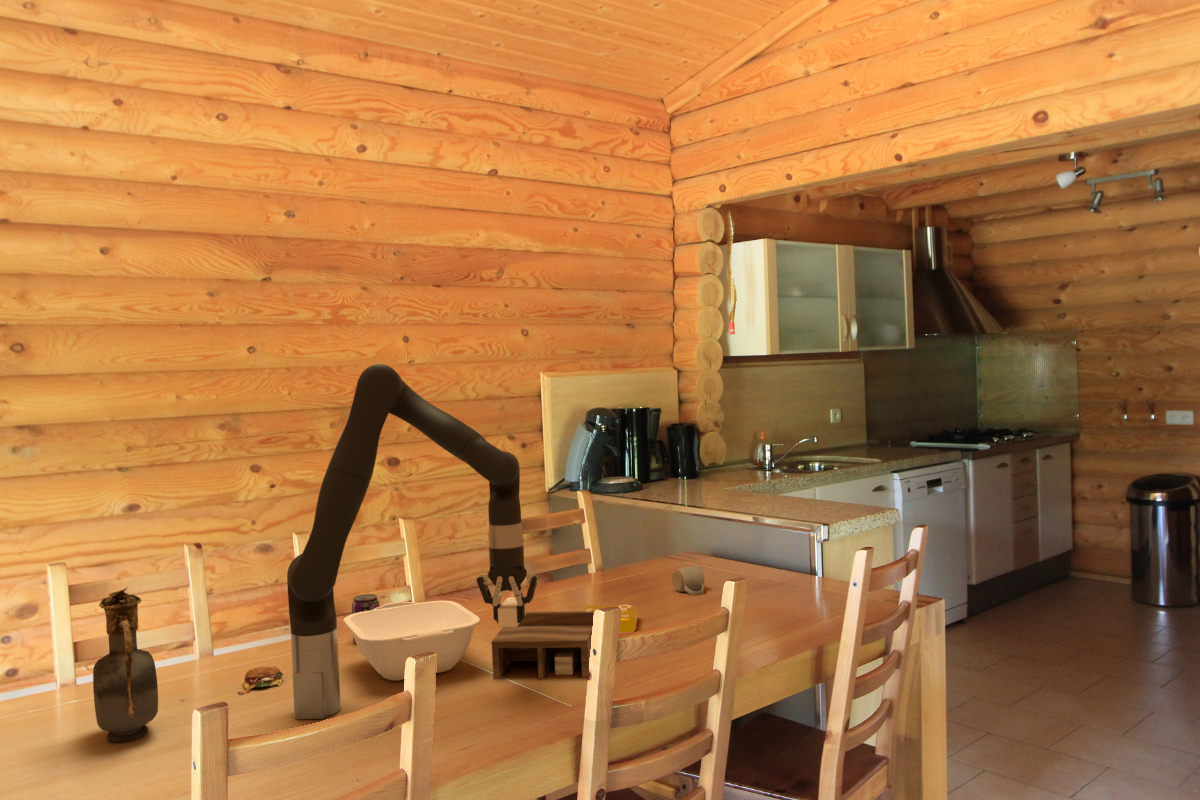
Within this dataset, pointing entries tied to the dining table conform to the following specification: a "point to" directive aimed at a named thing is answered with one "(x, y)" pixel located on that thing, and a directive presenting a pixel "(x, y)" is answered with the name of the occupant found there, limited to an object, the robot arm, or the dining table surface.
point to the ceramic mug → (689, 579)
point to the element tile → (626, 615)
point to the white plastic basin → (412, 634)
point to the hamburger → (261, 678)
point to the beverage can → (364, 603)
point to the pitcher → (124, 674)
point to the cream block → (508, 613)
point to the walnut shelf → (546, 642)
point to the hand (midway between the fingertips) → (509, 621)
